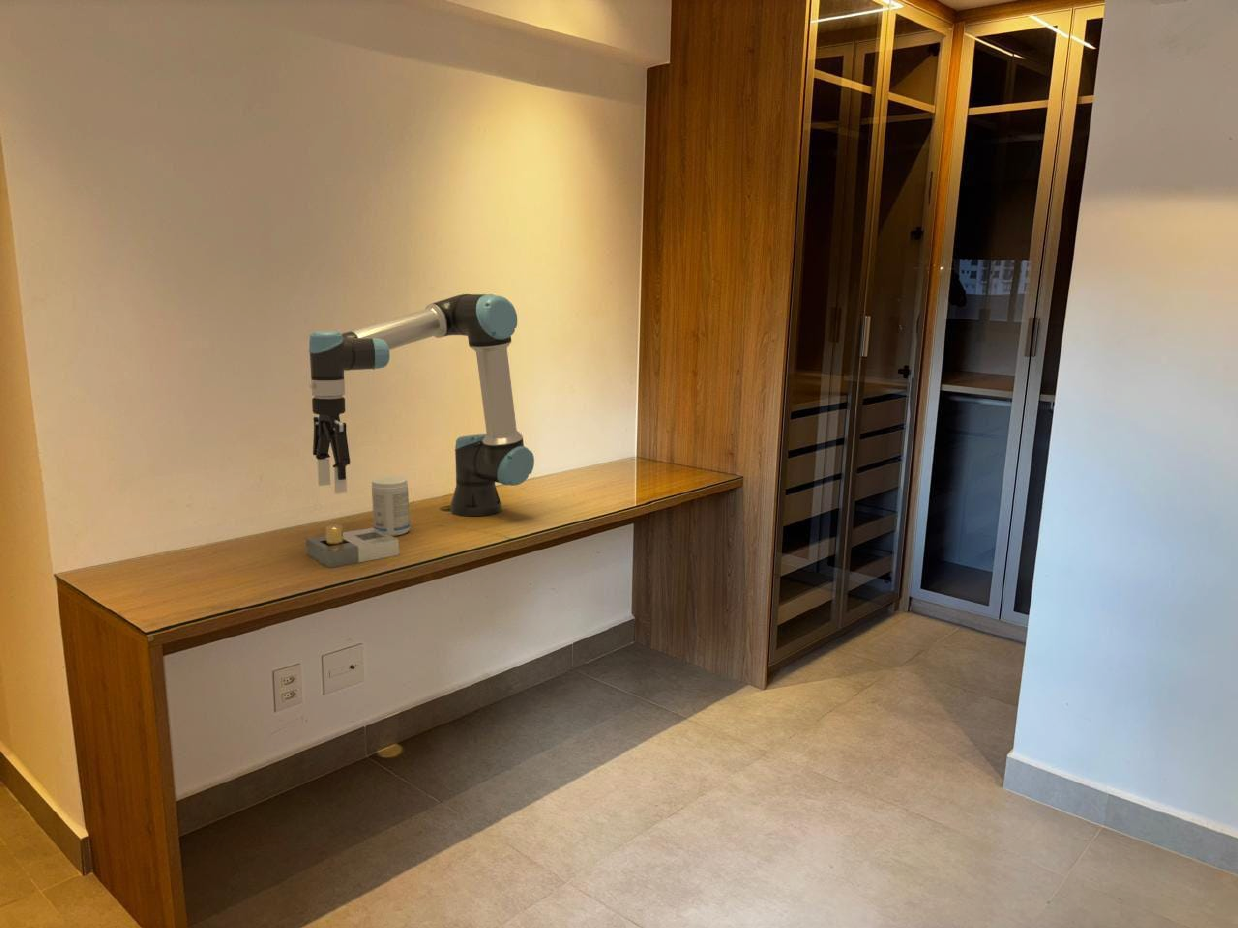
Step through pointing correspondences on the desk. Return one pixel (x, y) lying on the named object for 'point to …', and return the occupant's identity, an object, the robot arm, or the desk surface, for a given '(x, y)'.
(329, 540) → the amber translucent cylinder
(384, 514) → the supplement tub
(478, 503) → the robot arm
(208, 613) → the desk surface
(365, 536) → the block
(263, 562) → the desk surface
